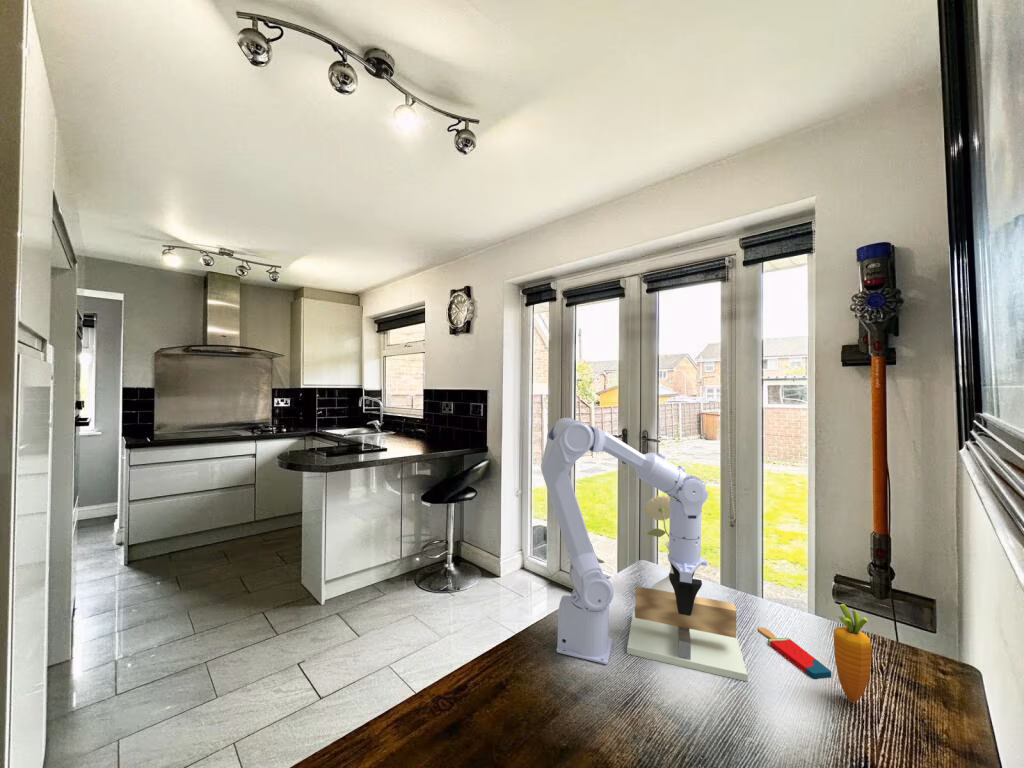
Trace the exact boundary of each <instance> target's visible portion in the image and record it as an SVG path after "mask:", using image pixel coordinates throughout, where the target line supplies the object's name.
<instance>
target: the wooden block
mask: <svg viewBox="0 0 1024 768" xmlns="http://www.w3.org/2000/svg"><path fill="white" fill-rule="evenodd" d="M634 597H635V599H634V612H635V618H639V619H644V620H649V621H654V622H659V623H664V624H669V625H674V626H679V627H683V628H688V629H693V630H698V631H703V632H708V633H713V634H718V635H723V636H728V637H733V638H736V636H737V609H736V605H735V603H734V602H729V601H722V600H717V599H712V598H711V599H710V598H705V597H701V596H700V597H695V600H694V605H693V609H692V613H691V616H687V615H682V614H679V613H678V609H677V603H676V596H675V593H673V592H667V591H661V590H656V589H651V588H649V587H644V586H635V594H634Z"/></svg>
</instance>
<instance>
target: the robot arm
mask: <svg viewBox="0 0 1024 768" xmlns="http://www.w3.org/2000/svg"><path fill="white" fill-rule="evenodd" d="M544 447H545V448H544V451H543V456H542V460H541V463H540V464H541V465H540V469H541V473H542V477H543V480H544V483H545V486H546V490H547V492H548V495H549V498H550V501H551V504H552V507H553V511H554V514H555V516H556V519H557V522H558V526H559V529H560V532H561V535H562V538H563V541H564V544H565V547H566V550H567V553H568V555H567V557H568V561H569V571H568V573H569V575H568V576H569V579H570V581H571V583H572V584H573V586H574V588H573V590H572V591H571V595H566V594H565V595H562V596H561V599H560V602H559V605H558V612H557V614H558V615H557V647H556V652H557V654H558V653H559V654H562V655H566V656H571V657H575V658H579V659H583V660H587V661H591V662H596V663H599V664H602V665H603V664H604V665H608V663H609V660H610V656H611V655H610V654H611V650H612V646H613V642H614V641H613V638H611V637H609V632H610V631H609V628H610V626H609V625H610V623H609V622H610V617H609V615H610V604H611V603H612V601H613V598H614V587H613V585H612V583H611V582H610V579H608V578H607V577H606V575H605V574H604V573H603V570H602V567H601V565H600V563H599V561H598V558H597V556H596V554H595V552H594V548H593V546H592V543H591V539H590V537H589V533H588V530H587V526H586V525H585V521H584V517H583V515H582V511H581V509H580V508H581V507H580V506H579V502H578V499H577V497H576V494H575V490H574V487H573V484H572V481H571V478H570V471H571V469H572V468H573V466H574V465H575V463H576V461H578V460H579V459H580V458H581V457H582V456H584V455H585V454H586V453H588V451H590V452H592V453H597V452H605V453H607V454H608V455H610V456H612V457H614V458H616V459H618V460H619V461H621V462H622V463H623V462H624V463H625V464H627V465H629V466H631V467H633V468H634V469H635V473H636V476H637V478H638V479H639V480H642V481H643V482H645V483H647V484H649V485H650V486H652V487H654V488H655V489H657V490H658V491H660V492H662V493H664V494H665V495H667V496H669V497H670V518H669V529H668V530H669V531H668V534H669V537H668V541H669V550H668V554H667V560H668V562H669V564H670V567H671V566H672V569H673V572H674V574H672V573H670V572H669V573H668V575H669V580H670V582H671V584H672V586H673V589H674V592H675V596H676V603H677V609H678V613H679V614H682V615H687V616H691V613H692V609H693V605H694V600H695V597H696V594H697V593H699V591H700V590H701V588H702V585H703V582H702V580H701V579H696V578H693V577H694V575H695V572H696V571H697V570H698V569H699V568H700V567H701V566H707V565H708V560H707V558H705V557H701V548H702V546H701V544H702V541H701V539H702V538H701V536H702V534H701V533H702V512H703V511H702V510H703V505H704V503H705V502H706V501H707V500H708V499H707V498H708V495H709V491H708V490H706V485H705V483H704V481H703V480H701V478H699V477H697V476H695V475H692V474H689V473H687V472H686V468H685V467H684V466H681V465H675V464H674V463H672V462H670V461H668V460H666V456H665V455H664V454H663V453H660V452H656V453H654V452H647V453H641V452H640V451H638V450H637V449H635V448H633V447H632V446H631V445H629V444H628V443H625V442H624V441H622V440H620V439H618V438H617V437H616V436H614V435H612V434H610V433H609V432H608V431H605V430H603V429H600V428H598V427H596V426H592V425H590V424H587V423H586V422H584V421H582V420H576V419H574V418H572V417H562V418H560V419H558V420H556V422H555V423H554V424H553V426H552V427H551V428H550V430H549V431H548V433H547V435H546V443H545V446H544Z"/></svg>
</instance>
